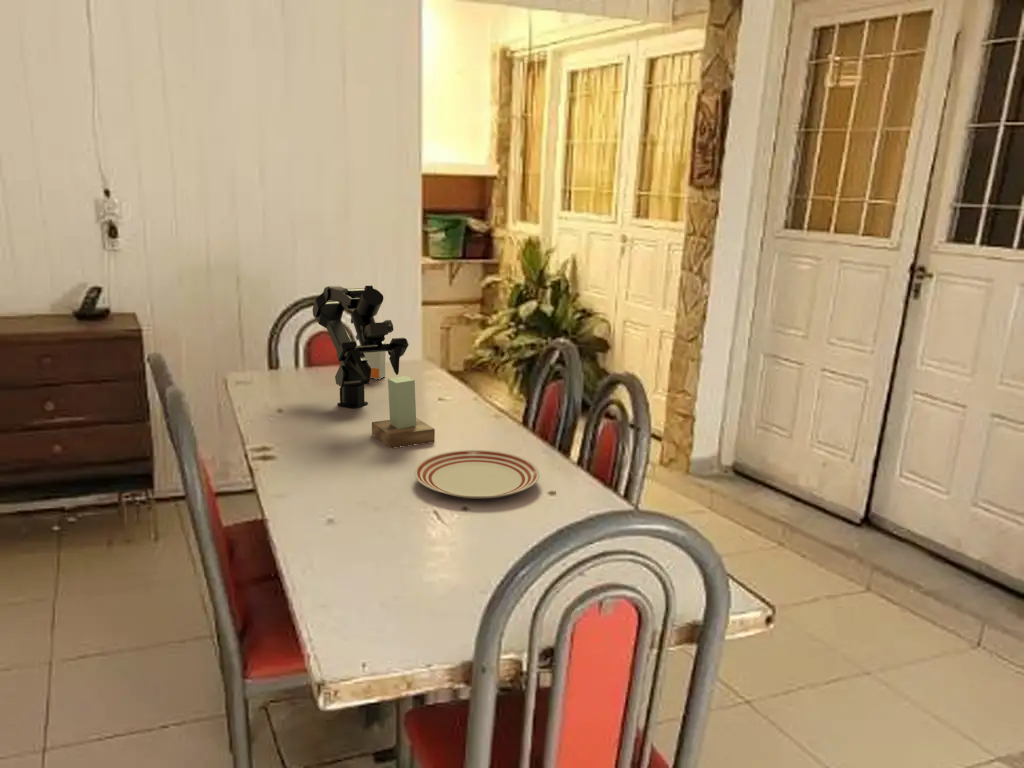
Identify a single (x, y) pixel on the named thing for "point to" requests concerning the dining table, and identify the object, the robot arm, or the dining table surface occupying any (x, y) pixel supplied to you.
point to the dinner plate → (477, 473)
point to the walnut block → (403, 433)
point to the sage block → (402, 402)
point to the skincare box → (376, 363)
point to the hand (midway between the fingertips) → (381, 375)
